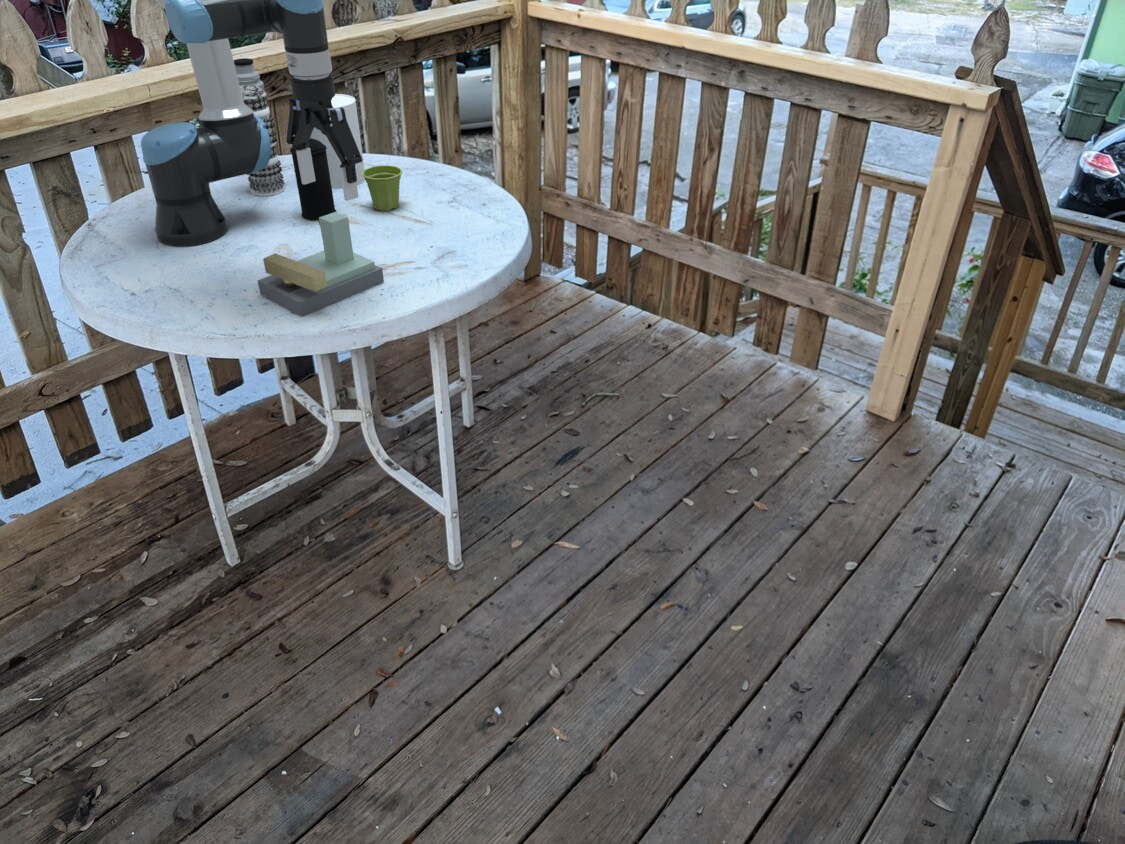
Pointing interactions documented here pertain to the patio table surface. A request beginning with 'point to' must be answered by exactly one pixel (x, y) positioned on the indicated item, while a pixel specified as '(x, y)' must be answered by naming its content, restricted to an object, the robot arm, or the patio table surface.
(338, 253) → the cover
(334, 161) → the canister
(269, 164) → the decorative candle
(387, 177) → the plant pot
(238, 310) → the patio table surface
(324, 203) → the aerosol can
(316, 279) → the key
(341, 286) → the plate
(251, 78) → the thermos bottle
